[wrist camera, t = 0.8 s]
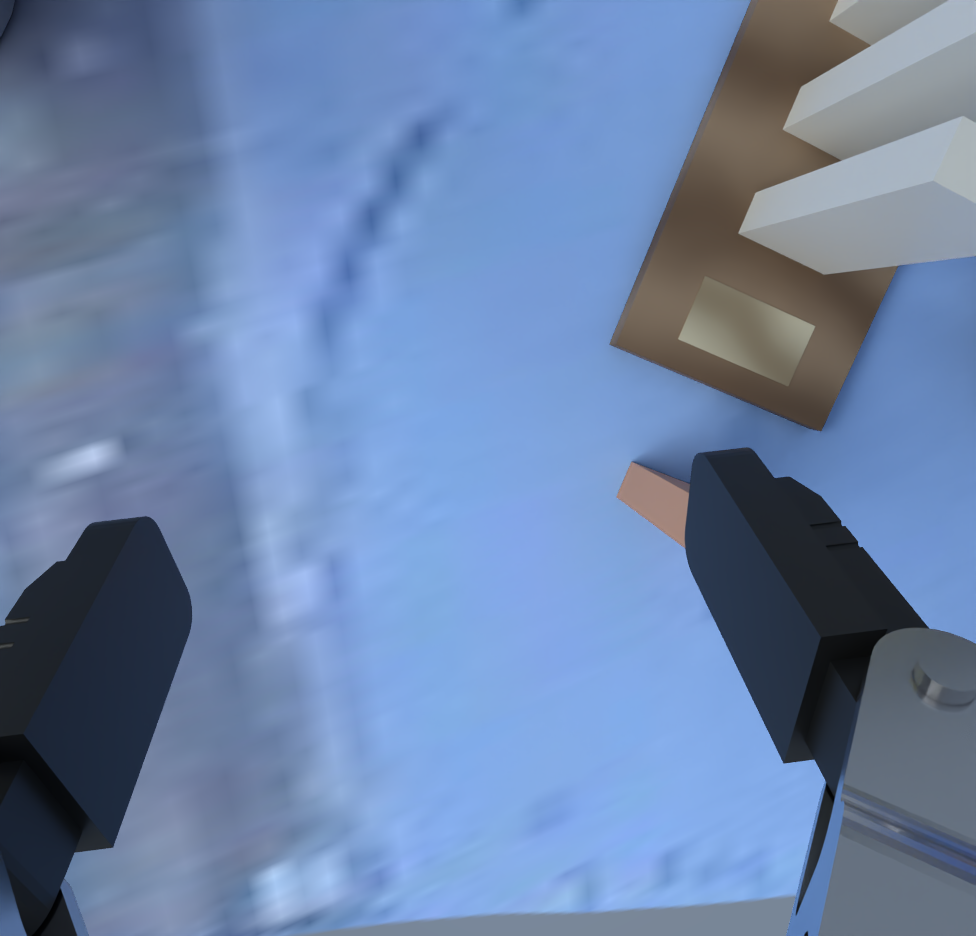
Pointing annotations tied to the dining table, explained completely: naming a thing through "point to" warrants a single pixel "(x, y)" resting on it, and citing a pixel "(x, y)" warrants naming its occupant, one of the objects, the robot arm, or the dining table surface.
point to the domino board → (741, 261)
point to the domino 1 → (657, 499)
